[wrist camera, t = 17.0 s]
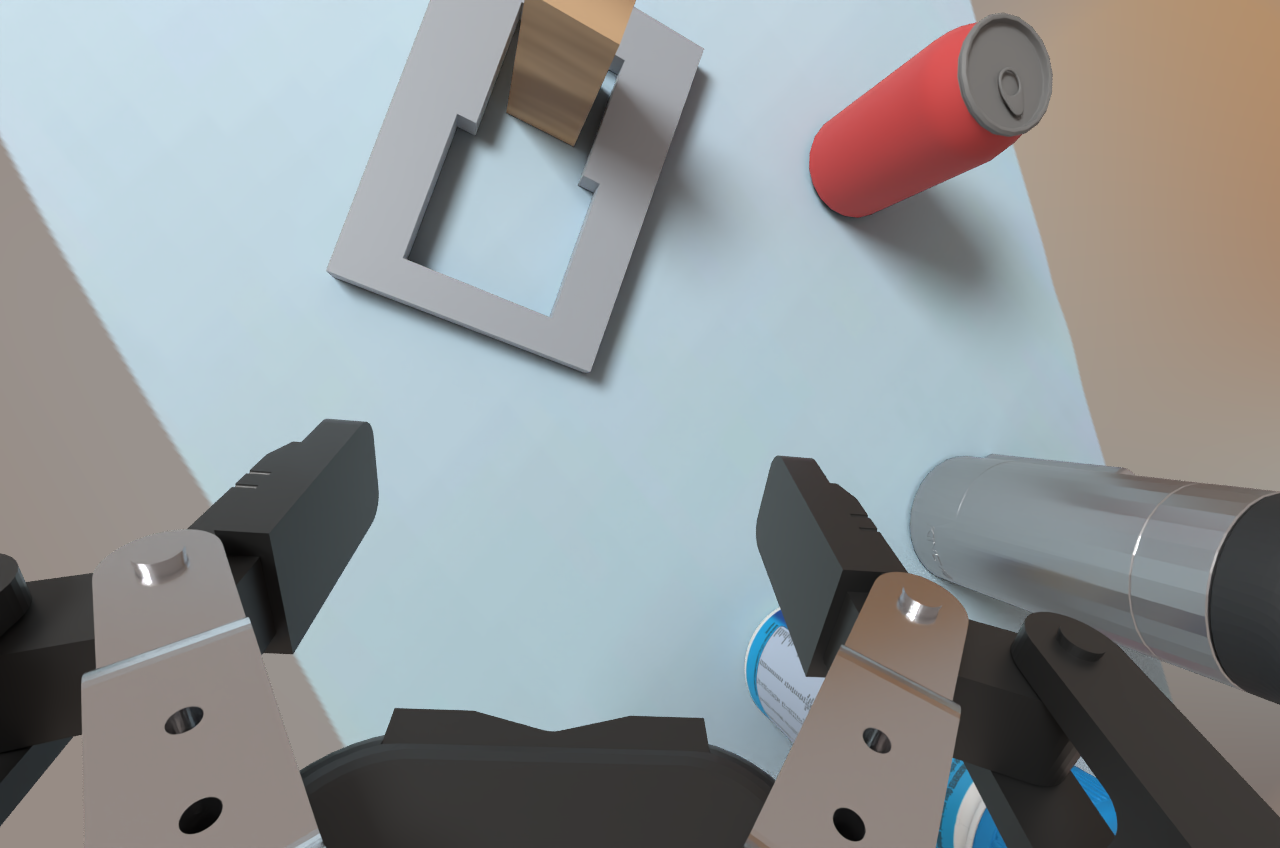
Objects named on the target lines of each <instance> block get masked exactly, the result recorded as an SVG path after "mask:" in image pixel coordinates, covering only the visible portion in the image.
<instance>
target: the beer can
mask: <svg viewBox="0 0 1280 848" xmlns="http://www.w3.org/2000/svg"><path fill="white" fill-rule="evenodd" d="M1052 75H1053V74H1052V69H1051V63H1050V58H1049V55H1048V53H1047V50H1046V48H1045V46H1044V43H1043V41H1042V39H1041V38H1040V37H1039V35H1038V34H1037V33H1036V31H1035V30H1034V29H1033V27H1032V26H1030V25H1029V24H1027V23H1026V22H1024V21H1023V20H1022V19H1021V18H1019V17H1017V16H1013V15H1010V14H1006V13H998V14H992V15H988V16H987V17H985V18H984V19H982V20H981V21H979V22H977V23H973V24H968V25H964V26H961V27H958V28H956V29H954V30H952V31H949V32H947V33H946V34H944V35H943V36H941V37H940V38H938V39H937V40H935V41H934V42H932V43H931V44H930V45H928V46H927V47H926V48H924V49H923V50H922V51H920V52H919V53H918V54H917V55H915V56H914V57H913V58H911V59H910V60H909V61H907V62H906V63H905V64H903V65H902V66H901V67H899V68H898V69H897V70H895V71H894V72H893V73H891V74H890V75H889V76H887V77H886V78H885V79H883V80H882V81H881V82H879V83H878V84H877V85H876V86H874V87H873V88H872V89H870V90H869V91H868V92H866V93H865V94H864V95H862V96H861V97H860V98H858V99H857V100H856V101H854V102H853V103H852V104H850V105H849V106H848V107H846V108H845V109H844V110H842V111H841V112H840V113H838V114H837V115H836V116H835V117H833V118H832V119H831V120H829V121H828V122H827V123H825V124H824V125H823V126H822V128H821V129H820V130H819V132H818V133H817V135H816V136H815V138H814V141H813V144H812V148H811V151H810V161H809V170H810V174H811V178H812V182H813V185H814V187H815V189H816V191H817V193H818V195H819V196H820V198H821V199H822V200H823V201H824V202H825V203H826V204H827V205H828V207H829V208H830V209H832V210H834V211H836V212H838V213H839V214H841V215H843V216H850V217H857V218H859V217H863V216H867V215H871V214H873V213H875V212H877V211H880V210H882V209H884V208H886V207H889V206H891V205H893V204H895V203H897V202H900V201H902V200H904V199H906V198H909V197H911V196H913V195H915V194H917V193H920V192H922V191H924V190H926V189H928V188H931V187H933V186H935V185H937V184H940V183H942V182H944V181H946V180H948V179H951V178H953V177H955V176H957V175H960V174H962V173H964V172H966V171H968V170H971V169H973V168H975V167H977V166H980V165H982V164H984V163H986V162H988V161H990V160H992V159H993V158H994V157H996V156H997V155H999V154H1000V153H1001V152H1003V151H1004V150H1005V149H1007V148H1008V147H1009V146H1011V145H1012V144H1013V143H1014V142H1015V141H1016V140H1017V139H1018V138H1019V137H1020V136H1021V135H1022V134H1024V133H1026V132H1028V131H1029V130H1030V129H1032V128H1033V127H1034V126H1036V125H1037V124H1038V123H1039V121H1040V120H1041V118H1042V117H1043V115H1044V114H1045V112H1046V110H1047V107H1048V104H1049V100H1050V97H1051V94H1052Z"/></svg>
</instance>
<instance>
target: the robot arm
mask: <svg viewBox="0 0 1280 848" xmlns="http://www.w3.org/2000/svg"><path fill="white" fill-rule="evenodd" d="M378 498H379V491H378V479H377V469H376V458H375V447H374V436H373V431H372V427H371V425H370V424H369V423H368V422H361V421H348V420H336V419H325V420H323V421H322V422H321V423H320V424H319V425H318V426H317V427H316V428H315V429H314V430H313V431H312V432H311V433H310V434H309V435H308V436H307V437H306V438H305V439H304V440H303V441H302V442H291V443H289V444H287V445H285V446H283V447H281V448H279V449H277V450H275V451H273V452H271V453H269V454H267V455H266V456H265V457H263V458H262V459H261V460H260V461H259V462H258V463H257V464H256V465H255V466H254V467H253V468H252V469H251V470H250V473H249V474H245V475H244V476H243V477H242V478H241V479H240V480H239V481H238V482H237V483H236V486H235V487H231V488H230V489H229V490H228V491H227V492H226V493H225V494H224V495H223V496H222V497H221V498H220V499H219V500H218V501H217V502H215V503H214V504H213V505H212V506H211V507H210V508H209V509H208V510H207V511H206V512H205V513H204V514H203V515H202V516H201V517H200V518H199V519H197V520H196V521H195V522H194V523H193V524H192V525H191V526H190V527H189V528H188V529H185V530H184V529H183V530H173V531H166V532H161V533H156V534H153V535H149V536H146V537H143V538H140V539H138V540H135V541H132V542H130V543H128V544H126V545H124V546H122V547H120V548H119V549H117V550H115V551H114V552H112V553H111V554H109V555H108V556H107V557H106V558H104V559H103V560H102V561H101V562H100V563H99V565H98V566H97V567H96V569H95V571H94V573H90V574H83V575H75V576H69V577H61V578H53V579H46V580H39V581H31V582H25V580H24V578H23V576H22V574H21V571H20V569H19V566H18V564H17V562H16V561H15V560H14V559H13V558H12V557H10V556H7V555H5V554H0V826H1V824H3V822H4V821H5V820H6V818H7V817H8V816H9V815H10V814H11V812H12V811H13V810H14V809H15V808H16V806H17V805H18V804H19V803H20V801H21V800H22V799H23V798H24V796H25V795H26V794H27V793H28V792H29V790H30V789H31V788H32V787H33V785H34V784H35V783H36V782H37V781H38V779H39V778H40V777H41V776H42V774H43V773H44V772H45V771H46V769H47V768H48V767H49V766H50V765H51V763H52V762H53V761H54V760H55V758H56V757H57V756H58V755H59V754H60V752H61V751H62V750H63V749H64V747H65V746H66V745H67V744H68V742H69V741H70V740H71V739H72V738H73V736H78V735H82V756H83V806H84V848H936V843H937V838H938V833H939V827H940V822H941V817H942V811H943V806H944V801H945V795H946V790H947V785H948V779H949V774H950V769H951V763H952V758H955V759H958V760H961V761H963V763H964V765H965V767H966V769H967V770H968V772H969V774H970V776H971V778H972V780H973V782H974V784H975V786H976V788H977V790H978V792H979V794H980V796H981V798H982V800H983V802H984V804H985V806H986V807H987V809H988V811H989V813H990V815H991V817H992V819H993V821H994V823H995V825H996V827H997V829H998V831H999V833H1000V835H1001V837H1002V839H1003V841H1004V842H1005V844H1006V846H1007V848H1280V817H1279V816H1278V815H1277V814H1276V813H1275V812H1274V811H1273V810H1272V809H1271V808H1270V807H1269V806H1268V804H1267V803H1266V802H1265V801H1264V800H1263V799H1262V798H1261V797H1260V796H1259V795H1258V794H1257V793H1256V792H1255V791H1254V790H1253V788H1252V787H1251V786H1250V785H1249V784H1248V783H1247V782H1246V781H1245V780H1244V779H1243V778H1242V777H1241V776H1240V775H1239V774H1238V773H1237V771H1236V770H1235V769H1234V768H1233V767H1232V766H1231V765H1230V764H1229V763H1228V762H1227V761H1226V760H1225V759H1224V758H1223V757H1222V756H1221V754H1220V753H1219V752H1218V751H1217V750H1216V749H1215V748H1214V747H1213V746H1212V745H1211V744H1210V743H1209V742H1208V741H1207V740H1206V738H1205V737H1203V735H1202V734H1201V733H1200V732H1199V731H1198V730H1197V729H1196V728H1195V727H1194V726H1193V725H1192V724H1191V722H1189V720H1188V719H1187V718H1186V717H1185V716H1184V715H1183V714H1182V713H1181V712H1180V711H1179V710H1178V709H1177V708H1176V707H1175V705H1174V704H1173V703H1172V702H1171V701H1170V700H1169V699H1168V698H1167V697H1166V696H1165V695H1164V694H1163V693H1162V692H1161V691H1160V690H1159V688H1158V687H1157V686H1156V685H1155V684H1154V683H1153V682H1152V681H1151V680H1150V679H1149V678H1148V677H1147V676H1146V675H1145V674H1144V673H1143V671H1142V670H1141V669H1140V668H1139V667H1138V666H1137V665H1136V664H1135V663H1134V662H1133V661H1132V660H1131V659H1130V658H1129V657H1128V656H1127V654H1126V653H1125V652H1124V651H1123V650H1122V649H1121V648H1120V647H1119V646H1118V645H1121V646H1123V647H1126V648H1129V649H1131V650H1134V651H1137V652H1139V653H1142V654H1145V655H1147V656H1150V657H1153V658H1155V659H1158V660H1161V661H1164V662H1167V663H1170V664H1172V665H1175V666H1178V667H1180V668H1183V669H1186V670H1189V671H1191V672H1194V673H1196V674H1199V675H1202V676H1204V677H1207V678H1210V679H1212V680H1215V681H1218V682H1220V683H1223V684H1226V685H1229V686H1231V687H1234V688H1237V689H1239V690H1242V691H1246V692H1248V693H1250V694H1253V695H1256V696H1258V697H1261V698H1264V699H1266V700H1269V701H1272V702H1274V703H1277V704H1280V492H1279V491H1270V490H1261V489H1253V488H1244V487H1235V486H1226V485H1216V484H1205V483H1197V482H1188V481H1180V480H1171V479H1162V478H1154V477H1145V476H1136V475H1135V474H1134V473H1133V472H1132V471H1130V470H1129V469H1126V468H1121V467H1111V466H1102V465H1092V464H1083V463H1073V462H1063V461H1054V460H1044V459H1034V458H1025V457H1015V456H1006V455H996V454H990V455H989V456H987V457H985V458H980V457H972V456H958V457H954V458H951V459H948V460H946V461H944V462H942V463H941V464H939V465H937V466H936V467H935V468H934V469H933V470H932V471H931V472H930V473H929V474H928V475H927V476H926V477H925V479H924V480H923V482H922V483H921V485H920V487H919V489H918V491H917V493H916V495H915V498H914V501H913V505H912V509H911V517H910V531H911V539H912V543H913V546H914V550H915V552H916V554H917V556H918V558H919V560H920V561H921V562H922V564H923V565H924V566H925V567H926V568H927V569H928V570H929V571H930V572H932V573H933V574H934V575H935V576H938V577H940V578H943V579H945V580H948V581H950V582H953V583H956V584H958V585H961V586H964V587H966V588H969V589H972V590H974V591H977V592H979V593H982V594H985V595H987V596H989V597H992V598H995V599H997V600H1000V601H1003V602H1006V603H1008V604H1011V605H1014V606H1016V607H1019V608H1022V609H1024V610H1027V611H1030V612H1032V614H1030V615H1029V616H1027V618H1026V620H1025V621H1024V623H1023V625H1022V627H1021V629H1020V630H1019V632H1018V633H1015V632H1011V631H1008V630H1004V629H1001V628H997V627H994V626H990V625H986V624H983V623H979V622H976V621H973V620H970V619H968V615H967V612H966V610H965V608H964V607H963V606H962V604H961V603H960V602H959V601H958V600H957V599H956V597H954V596H953V595H952V594H951V593H950V592H948V591H947V590H946V589H944V588H943V587H941V586H940V585H938V584H936V583H934V582H932V581H930V580H928V579H926V578H923V577H921V576H917V575H914V574H910V573H908V572H907V571H906V569H905V568H904V566H903V565H902V564H901V562H900V561H899V559H898V558H897V556H896V555H895V553H894V552H893V551H892V549H891V548H890V546H889V545H888V543H887V542H886V540H885V539H884V538H883V536H882V535H881V533H880V532H877V528H876V526H875V525H874V523H873V522H872V520H871V519H870V518H868V515H867V513H866V512H865V510H864V509H863V507H862V506H861V504H860V503H859V502H858V500H857V499H856V498H855V497H854V496H852V495H851V494H850V493H848V492H847V491H846V490H844V489H843V488H842V487H841V486H839V485H838V484H834V483H829V481H828V479H827V478H826V476H825V475H824V473H823V472H822V470H821V469H820V467H819V466H818V464H817V463H816V461H815V460H814V459H812V458H801V457H788V456H776V457H775V458H774V459H773V461H772V463H771V467H770V470H769V474H768V478H767V482H766V486H765V490H764V494H763V498H762V502H761V506H760V510H759V514H758V518H757V525H756V540H757V546H758V549H759V552H760V555H761V557H762V560H763V563H764V566H765V568H766V571H767V574H768V576H769V579H770V582H771V584H772V587H773V590H774V593H775V595H776V598H777V601H778V603H779V606H780V609H781V611H782V614H783V617H784V619H785V622H786V625H787V628H788V630H789V633H790V636H791V638H792V641H793V644H794V646H795V649H796V652H797V655H798V657H799V660H800V663H801V665H802V668H803V671H804V673H805V676H806V677H822V678H825V679H824V681H823V684H822V686H821V688H820V690H819V692H818V694H817V696H816V698H815V700H814V702H813V704H812V706H811V708H810V710H809V713H808V715H807V717H806V719H805V721H804V723H803V725H802V727H801V729H800V731H799V733H798V735H797V737H796V739H795V742H794V744H793V746H792V748H791V750H790V752H789V754H788V756H787V758H786V760H785V762H784V764H783V766H782V768H781V771H780V773H779V775H778V777H777V779H776V780H775V779H773V778H772V777H771V776H770V775H769V774H767V773H766V772H764V771H763V770H761V769H760V768H758V767H757V766H756V765H754V764H753V763H751V762H749V761H747V760H745V759H743V758H742V757H740V756H738V755H736V754H734V753H732V752H729V751H727V750H724V749H722V748H719V747H716V746H713V745H710V744H708V740H707V734H706V728H705V722H704V718H681V717H650V716H628V717H623V718H618V719H614V720H609V721H604V722H600V723H595V724H590V725H585V726H581V727H576V728H571V729H566V730H562V731H555V732H554V731H544V730H541V729H537V728H533V727H530V726H526V725H523V724H519V723H516V722H512V721H508V720H505V719H501V718H498V717H494V716H491V715H487V714H483V713H480V712H476V711H465V710H434V709H403V708H395V709H394V712H393V714H392V717H391V720H390V723H389V725H388V728H387V731H386V733H385V735H383V736H378V737H374V738H371V739H367V740H364V741H361V742H358V743H355V744H352V745H349V746H347V747H344V748H342V749H340V750H337V751H335V752H332V753H331V754H328V755H327V756H325V757H323V758H321V759H319V760H317V761H315V762H313V763H311V764H310V765H308V766H306V767H305V768H303V769H302V770H300V771H299V769H298V766H297V763H296V759H295V757H294V754H293V751H292V747H291V744H290V741H289V738H288V735H287V732H286V729H285V726H284V723H283V720H282V717H281V714H280V710H279V707H278V704H277V701H276V698H275V695H274V692H273V689H272V686H271V683H270V680H269V677H268V674H267V671H266V668H265V664H264V662H263V658H262V654H263V653H279V654H293V653H294V652H295V650H296V649H297V647H298V645H299V644H300V642H301V640H302V639H303V637H304V635H305V634H306V632H307V630H308V629H309V627H310V625H311V624H312V622H313V620H314V619H315V617H316V615H317V614H318V612H319V610H320V609H321V607H322V605H323V604H324V602H325V600H326V599H327V597H328V596H329V594H330V592H331V591H332V589H333V587H334V586H335V584H336V582H337V581H338V579H339V577H340V576H341V574H342V572H343V571H344V569H345V567H346V566H347V564H348V562H349V561H350V559H351V557H352V556H353V554H354V552H355V551H356V549H357V547H358V546H359V544H360V543H361V541H362V539H363V538H364V536H365V534H366V533H367V531H368V529H369V528H370V526H371V524H372V522H373V520H374V518H375V515H376V511H377V506H378ZM1117 644H1118V645H1117ZM1080 756H1081V757H1082V758H1083V759H1084V761H1085V762H1086V764H1087V765H1088V766H1089V768H1090V769H1091V771H1092V772H1093V773H1094V775H1095V776H1096V778H1097V779H1098V780H1099V782H1100V783H1101V785H1102V786H1103V787H1104V789H1105V790H1106V792H1107V793H1108V795H1109V797H1110V799H1111V801H1112V803H1113V806H1114V809H1115V812H1116V817H1117V832H1116V835H1114V833H1113V832H1112V830H1111V829H1110V827H1109V826H1108V824H1107V823H1106V822H1105V820H1104V819H1103V817H1102V816H1101V814H1100V813H1099V811H1098V810H1097V808H1096V807H1095V805H1094V804H1093V802H1092V801H1091V799H1090V798H1089V796H1088V795H1087V794H1086V792H1085V791H1084V789H1083V788H1082V786H1081V785H1080V783H1079V782H1078V780H1077V779H1076V777H1075V776H1074V774H1073V773H1072V771H1071V769H1072V768H1073V766H1074V765H1075V763H1076V762H1077V760H1078V759H1079V758H1080Z"/></svg>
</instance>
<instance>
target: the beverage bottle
mask: <svg viewBox="0 0 1280 848" xmlns="http://www.w3.org/2000/svg"><path fill="white" fill-rule="evenodd" d="M744 672H745V680H746V685H747V688H748V691H749V694H750V696H751V698H752V699H753V701H754V703H755V704H756V705H757V707H758V708H759V709H760V710H761V711H762V712H763V713H764V714H765V715H766V716H767V717H768V718H769V719H770V720H771V721H772V722H773V723H774V724H775V725H776V726H777V727H778V728H779V729H780V730H781V731H782V732H783V733H784V734H785V735H786V736H787V737H788V738H789V739H790V740H791V741H792V742H793V743H794V742H795V739H796V737H797V735H798V733H799V731H800V729H801V727H802V725H803V723H804V721H805V719H806V717H807V715H808V713H809V710H810V708H811V706H812V704H813V702H814V700H815V698H816V696H817V694H818V692H819V690H820V688H821V686H822V684H823V681H824V679H825V678H822V677H806V676H805V673H804V671H803V668H802V665H801V663H800V660H799V657H798V655H797V652H796V649H795V646H794V644H793V641H792V638H791V636H790V633H789V630H788V628H787V625H786V622H785V619H784V617H783V614H782V611H781V609H780V607H779V608H777V609H776V610H774V611H773V612H771V613H770V614H769V615H768V616H767V617H766V618H765V619H764V620H763V621H762V622H761V623H760V625H759V626H758V627H757V629H756V630H755V632H754V634H753V636H752V638H751V640H750V642H749V645H748V648H747V652H746V656H745V665H744ZM1071 771H1072V773H1073V774H1074V776H1075V777H1076V779H1077V780H1078V782H1079V783H1080V785H1081V786H1082V788H1083V789H1084V791H1085V792H1086V794H1087V795H1088V796H1089V798H1090V799H1091V801H1092V802H1093V804H1094V805H1095V807H1096V808H1097V810H1098V811H1099V813H1100V814H1101V816H1102V817H1103V819H1104V820H1105V822H1106V823H1107V824H1108V826H1109V827H1110V829H1111V830H1112V832H1113V833H1114V835H1116V832H1117V817H1116V812H1115V809H1114V806H1113V803H1112V801H1111V799H1110V797H1109V795H1108V793H1107V792H1106V790H1105V789H1104V787H1103V786H1102V785H1101V783H1100V782H1099V780H1098V779H1097V778H1096V777H1094V776H1092V775H1090V774H1088V773H1086V772H1085V771H1083V770H1081V769H1080V768H1078V767H1076V766H1073V768H1072V769H1071ZM936 848H1007V846H1006V844H1005V842H1004V841H1003V839H1002V837H1001V835H1000V833H999V831H998V829H997V827H996V825H995V823H994V821H993V819H992V817H991V815H990V813H989V811H988V809H987V807H986V806H985V804H984V802H983V800H982V798H981V796H980V794H979V792H978V790H977V788H976V786H975V784H974V782H973V780H972V778H971V776H970V774H969V772H968V770H967V769H966V767H965V765H964V763H963V761H961V760H958V759H955V758H952V763H951V769H950V774H949V779H948V785H947V790H946V795H945V801H944V806H943V811H942V817H941V822H940V827H939V833H938V838H937V843H936Z"/></svg>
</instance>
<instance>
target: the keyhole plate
mask: <svg viewBox="0 0 1280 848" xmlns="http://www.w3.org/2000/svg"><path fill="white" fill-rule="evenodd" d="M523 6H524V0H430V2H429V4H428V7H427V10H426V12H425V15H424V17H423V20H422V23H421V25H420V28H419V30H418V33H417V36H416V38H415V41H414V43H413V46H412V49H411V51H410V54H409V56H408V59H407V62H406V64H405V67H404V69H403V72H402V75H401V77H400V80H399V82H398V85H397V88H396V90H395V93H394V95H393V98H392V101H391V103H390V106H389V108H388V111H387V113H386V116H385V119H384V121H383V124H382V126H381V129H380V132H379V134H378V137H377V139H376V142H375V145H374V147H373V150H372V152H371V155H370V158H369V160H368V163H367V165H366V168H365V171H364V173H363V176H362V178H361V181H360V184H359V186H358V189H357V191H356V194H355V197H354V199H353V202H352V204H351V207H350V210H349V212H348V215H347V217H346V220H345V223H344V225H343V228H342V230H341V233H340V236H339V238H338V241H337V243H336V246H335V248H334V251H333V254H332V256H331V259H330V261H329V264H328V267H327V269H326V271H327V272H328V273H329V274H330V275H331V276H332V277H335V278H337V279H340V280H342V281H345V282H348V283H350V284H353V285H356V286H358V287H361V288H363V289H366V290H369V291H371V292H374V293H377V294H379V295H382V296H384V297H387V298H390V299H392V300H395V301H397V302H400V303H403V304H405V305H408V306H411V307H413V308H416V309H418V310H421V311H424V312H426V313H429V314H431V315H434V316H437V317H439V318H442V319H445V320H447V321H450V322H452V323H455V324H458V325H460V326H463V327H466V328H468V329H471V330H473V331H476V332H479V333H481V334H484V335H486V336H489V337H492V338H494V339H497V340H500V341H502V342H505V343H507V344H510V345H513V346H515V347H518V348H521V349H523V350H526V351H528V352H531V353H534V354H536V355H539V356H541V357H544V358H547V359H549V360H552V361H555V362H557V363H560V364H562V365H565V366H568V367H570V368H573V369H576V370H578V371H581V372H583V373H588V372H591V369H592V366H593V363H594V360H595V357H596V354H597V352H598V349H599V346H600V343H601V340H602V337H603V335H604V332H605V329H606V326H607V323H608V320H609V318H610V315H611V312H612V309H613V306H614V303H615V300H616V298H617V295H618V292H619V289H620V286H621V283H622V281H623V278H624V275H625V272H626V269H627V266H628V264H629V261H630V258H631V255H632V252H633V249H634V246H635V244H636V241H637V238H638V235H639V232H640V229H641V227H642V224H643V221H644V218H645V215H646V212H647V209H648V207H649V204H650V201H651V198H652V195H653V192H654V190H655V187H656V184H657V181H658V178H659V175H660V173H661V170H662V167H663V164H664V161H665V158H666V155H667V153H668V150H669V147H670V144H671V141H672V138H673V136H674V133H675V130H676V127H677V124H678V121H679V119H680V116H681V113H682V110H683V107H684V104H685V101H686V99H687V96H688V93H689V90H690V87H691V84H692V82H693V79H694V76H695V73H696V70H697V67H698V64H699V62H700V59H701V56H702V53H703V50H704V48H702V47H700V46H699V45H697V44H695V43H694V42H692V41H690V40H689V39H687V38H685V37H684V36H682V35H680V34H679V33H677V32H675V31H674V30H672V29H670V28H669V27H667V26H665V25H664V24H662V23H660V22H659V21H657V20H655V19H654V18H652V17H650V16H649V15H647V14H645V13H644V12H642V11H640V10H639V9H637V8H635V7H633V10H632V12H631V15H630V18H629V21H628V23H627V26H626V29H625V32H624V34H623V37H622V40H621V43H620V45H619V47H618V50H617V52H616V54H615V56H614V58H613V61H612V63H611V65H610V67H609V70H610V71H612V72H614V73H616V74H618V75H617V78H616V81H615V84H614V87H613V89H612V92H611V95H610V98H609V100H608V103H607V106H606V109H605V111H604V114H603V117H602V120H601V123H600V125H599V128H598V131H597V134H596V136H595V139H594V142H593V145H592V148H591V150H590V153H589V156H588V159H587V161H586V164H585V167H584V170H583V172H582V175H581V178H580V181H579V184H578V185H579V186H581V187H583V188H585V189H587V190H589V191H591V192H593V193H594V194H593V197H592V200H591V203H590V205H589V208H588V211H587V214H586V217H585V219H584V222H583V225H582V228H581V230H580V233H579V236H578V239H577V242H576V244H575V247H574V250H573V253H572V256H571V258H570V261H569V264H568V267H567V270H566V272H565V275H564V278H563V281H562V283H561V286H560V289H559V292H558V295H557V297H556V300H555V303H554V306H553V309H552V311H551V314H550V317H548V316H545V315H543V314H540V313H538V312H535V311H533V310H530V309H528V308H525V307H523V306H520V305H518V304H516V303H513V302H511V301H508V300H506V299H503V298H501V297H498V296H496V295H493V294H491V293H488V292H486V291H483V290H481V289H478V288H476V287H474V286H471V285H469V284H466V283H464V282H461V281H459V280H456V279H454V278H451V277H449V276H446V275H444V274H441V273H439V272H436V271H434V270H432V269H429V268H427V267H424V266H422V265H419V264H417V263H414V262H412V261H409V260H407V259H408V256H409V254H410V251H411V248H412V246H413V243H414V240H415V238H416V235H417V232H418V230H419V227H420V225H421V222H422V219H423V217H424V214H425V211H426V209H427V206H428V203H429V201H430V198H431V195H432V193H433V190H434V187H435V185H436V182H437V179H438V177H439V174H440V171H441V169H442V166H443V163H444V161H445V158H446V155H447V153H448V150H449V148H450V145H451V142H452V140H453V137H454V134H455V132H456V129H457V127H459V128H461V129H463V130H465V131H467V132H469V133H471V134H473V135H475V136H476V133H477V130H478V128H479V125H480V122H481V120H482V117H483V114H484V112H485V109H486V106H487V104H488V101H489V98H490V96H491V93H492V90H493V87H494V85H495V82H496V79H497V77H498V74H499V71H500V69H501V66H502V63H503V61H504V58H505V55H506V53H507V50H508V47H509V45H510V42H511V39H512V37H513V34H514V31H515V29H516V26H517V23H518V21H519V20H520V21H521V18H522V12H523Z"/></svg>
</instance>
